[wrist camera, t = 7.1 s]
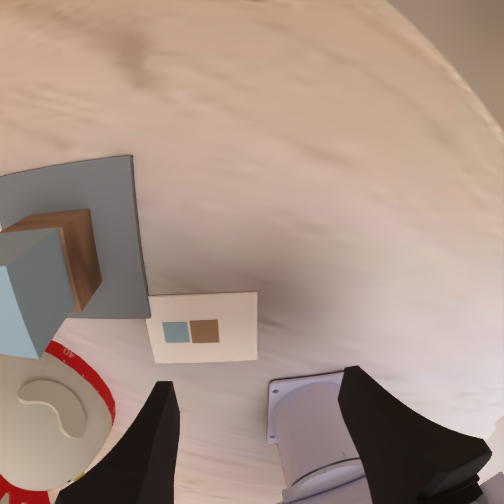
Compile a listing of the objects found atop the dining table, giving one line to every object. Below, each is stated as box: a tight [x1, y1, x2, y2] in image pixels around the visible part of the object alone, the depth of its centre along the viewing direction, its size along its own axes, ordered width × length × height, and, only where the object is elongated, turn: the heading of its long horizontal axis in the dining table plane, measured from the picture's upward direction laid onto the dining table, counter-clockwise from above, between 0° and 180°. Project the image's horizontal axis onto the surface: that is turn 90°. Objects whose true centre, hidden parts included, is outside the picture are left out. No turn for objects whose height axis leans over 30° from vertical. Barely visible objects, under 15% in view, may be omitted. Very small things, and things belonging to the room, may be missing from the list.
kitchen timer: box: [0, 340, 115, 504], centre depth 17 cm, size 14×14×15 cm
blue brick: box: [0, 227, 75, 359], centre depth 12 cm, size 4×4×5 cm
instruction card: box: [146, 291, 258, 363], centre depth 22 cm, size 6×8×1 cm
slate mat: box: [0, 155, 151, 319], centre depth 19 cm, size 11×11×1 cm
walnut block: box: [0, 209, 102, 312], centre depth 16 cm, size 5×5×4 cm
